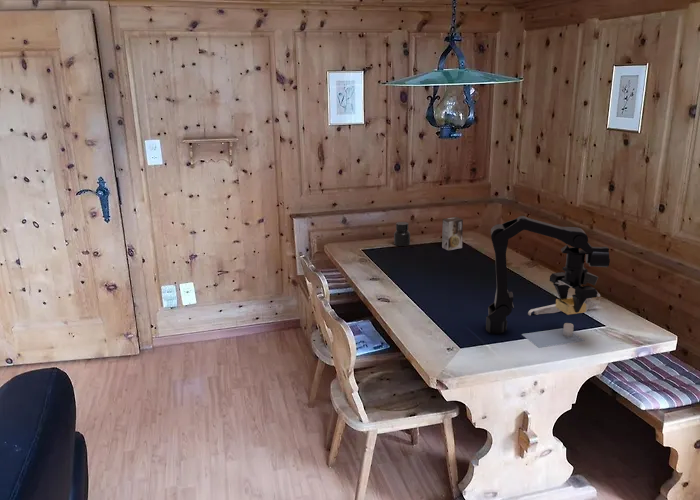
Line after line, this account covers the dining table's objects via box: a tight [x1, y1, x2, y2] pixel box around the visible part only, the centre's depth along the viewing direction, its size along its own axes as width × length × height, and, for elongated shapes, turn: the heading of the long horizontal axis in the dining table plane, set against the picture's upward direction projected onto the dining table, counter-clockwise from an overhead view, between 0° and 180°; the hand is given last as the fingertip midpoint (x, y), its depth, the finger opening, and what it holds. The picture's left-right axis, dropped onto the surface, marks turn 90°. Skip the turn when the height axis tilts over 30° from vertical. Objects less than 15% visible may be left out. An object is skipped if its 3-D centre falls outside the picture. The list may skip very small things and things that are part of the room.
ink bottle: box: [393, 221, 411, 247], centre depth 313 cm, size 10×9×12 cm
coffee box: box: [441, 216, 464, 251], centre depth 304 cm, size 9×6×16 cm
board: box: [521, 322, 586, 349], centre depth 198 cm, size 18×11×5 cm, turn 105°
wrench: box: [527, 292, 601, 316], centre depth 220 cm, size 8×2×30 cm
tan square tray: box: [555, 296, 587, 316], centre depth 197 cm, size 7×7×3 cm
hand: (570, 308), depth 197 cm, fingers closed on tan square tray, 7 cm apart
